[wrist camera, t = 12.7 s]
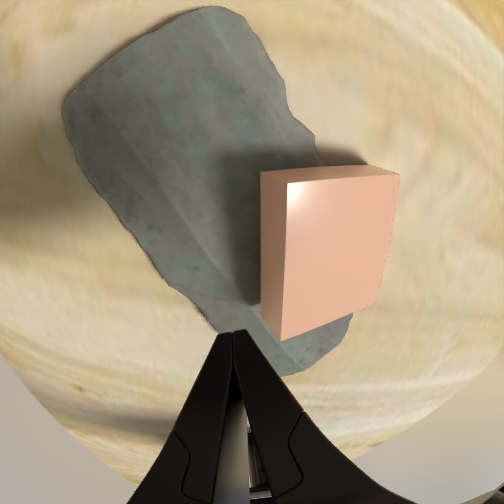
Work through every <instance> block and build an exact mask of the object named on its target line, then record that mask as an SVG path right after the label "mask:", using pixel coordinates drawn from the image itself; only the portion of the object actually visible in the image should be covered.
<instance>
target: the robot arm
mask: <svg viewBox="0 0 504 504" xmlns="http://www.w3.org/2000/svg"><path fill="white" fill-rule="evenodd" d="M247 417H248V420H249V424H250V427H251V431H252V434H247ZM173 429H174V430H171V432H170V434H169V436H168V438H167V440H166V442H165V444H164V446H163V448H162V450H161V452H160V454H159V456H158V457H157V459H156V460H155V462H154V464H153V465H152V467H151V468H150V470H149V472H148V473H147V475H146V476H145V478H144V479H143V480H142V482H141V483H140V485H139V486H138V488H137V489H136V491H135V492H134V494H133V496H132V497H131V498H130V500H129V501H128V502H127V504H417V503H415V502H413V501H410V500H408V499H406V498H404V497H402V496H400V495H397V494H395V493H393V492H391V491H389V490H387V489H386V488H384V487H383V486H381V485H379V484H378V483H377V482H375V481H374V480H372V479H371V478H370V477H369V476H368V475H366V474H365V473H364V472H363V471H362V470H361V469H359V468H358V467H357V466H356V465H355V464H354V463H353V462H352V461H351V460H349V459H348V458H347V457H346V456H345V455H344V454H343V453H342V452H341V451H340V450H338V449H337V448H336V447H335V446H334V445H333V444H332V443H331V442H330V441H329V440H328V438H327V437H326V436H325V435H324V434H323V433H322V432H321V431H320V430H319V428H318V427H317V426H316V425H315V423H314V422H313V421H312V420H311V418H310V417H309V416H308V414H307V413H306V412H305V411H304V409H303V408H302V407H301V405H300V404H299V403H298V401H297V400H296V399H295V397H294V396H293V394H292V393H291V392H290V390H289V389H288V388H287V386H286V385H285V383H284V382H283V381H282V379H281V378H280V377H279V375H278V374H277V372H276V371H275V369H274V368H273V367H272V365H271V364H270V362H269V361H268V360H267V358H266V357H265V355H264V354H263V352H262V351H261V350H260V348H259V347H258V345H257V344H256V342H255V341H254V339H253V338H252V336H251V335H250V334H249V332H248V331H247V330H246V329H241V330H236V331H233V333H232V332H224V333H219V334H218V335H217V337H216V339H215V341H214V343H213V345H212V347H211V349H210V351H209V354H208V356H207V358H206V360H205V362H204V364H203V366H202V368H201V370H200V372H199V374H198V376H197V379H196V381H195V383H194V385H193V387H192V389H191V391H190V393H189V395H188V397H187V399H186V401H185V403H184V406H183V408H182V410H181V412H180V414H179V416H178V418H177V420H176V422H175V424H174V426H173ZM249 476H250V484H251V488H249ZM268 496H272V497H268ZM261 497H266V498H261ZM252 498H259V499H252ZM462 504H504V483H503V484H502V485H500V486H499V487H498V488H497V489H495V490H493V491H490V492H488V493H486V494H483V495H481V496H479V497H477V498H474V499H472V500H469V501H467V502H464V503H462Z"/></svg>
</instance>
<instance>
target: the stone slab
mask: <svg viewBox="0 0 504 504" xmlns="http://www.w3.org/2000/svg"><path fill="white" fill-rule="evenodd" d="M62 117H63V119H64V122H65V125H66V132H67V138H68V139H69V140H70V142H71V143H72V144H73V146H74V148H75V154H76V161H77V163H78V164H79V165H80V166H81V168H82V169H83V171H84V174H85V175H86V177H87V179H88V181H89V182H90V183H91V184H92V185H93V186H95V188H96V190H97V192H98V194H99V195H100V196H101V197H103V198H104V199H105V200H106V201H107V202H108V203H109V204H110V206H111V207H112V209H113V210H114V212H115V213H116V215H117V216H118V218H119V219H120V221H121V222H122V224H123V226H124V228H125V229H127V230H128V231H130V232H132V233H133V235H134V236H135V237H136V239H137V241H138V242H139V244H140V246H141V248H142V249H143V250H144V251H145V252H146V253H147V255H148V256H149V257H150V259H151V260H152V261H153V263H154V265H155V267H156V269H157V270H158V272H159V273H160V275H161V276H162V277H163V278H164V279H165V281H166V282H167V284H168V285H169V286H170V287H172V288H174V289H176V290H178V291H179V292H180V293H182V294H184V295H185V296H187V297H188V298H189V299H190V300H191V301H192V302H193V303H194V304H195V305H196V306H197V307H198V308H199V309H200V310H201V311H202V312H203V314H204V315H205V318H206V320H207V321H208V322H209V323H211V324H212V326H213V327H214V329H215V330H216V331H217V332H218V333H224V332H232V333H233V331H236V330H241V329H246V330H247V331H248V332H249V334H250V335H251V336H252V338H253V339H254V341H255V342H256V344H257V345H258V347H259V348H260V350H261V351H262V352H263V354H264V355H265V357H266V358H267V360H268V361H269V362H270V364H271V365H272V367H273V368H274V369H275V371H276V372H277V374H278V375H279V377H282V376H288V375H293V374H295V373H297V372H300V371H304V370H306V369H307V368H309V367H311V366H312V365H313V364H315V363H316V362H317V361H318V360H320V359H321V358H322V357H323V356H324V355H326V354H327V353H328V352H330V351H331V350H332V349H333V348H335V347H336V346H337V345H339V344H340V343H341V341H342V339H343V337H344V336H345V334H346V332H347V330H348V326H349V322H350V320H351V318H352V316H353V313H350V314H348V315H346V316H344V317H341V318H339V319H336V320H334V321H332V322H329V323H327V324H324V325H322V326H320V327H317V328H315V329H312V330H310V331H307V332H304V333H302V334H299V335H297V336H294V337H291V338H289V339H286V340H283V341H281V342H280V340H279V339H278V338H277V336H276V335H275V334H274V333H273V331H272V330H271V329H270V327H269V326H268V325H267V323H266V322H265V321H264V319H263V318H262V317H261V190H260V172H263V171H274V170H284V169H296V168H310V167H325V166H326V165H325V163H324V162H323V161H322V159H321V158H320V156H319V153H318V151H317V149H316V146H315V135H314V134H313V133H312V132H311V131H310V130H309V129H308V128H306V127H305V126H304V125H303V124H302V123H301V122H300V121H298V120H297V119H296V118H294V117H293V115H292V114H291V112H290V110H289V107H288V104H287V100H286V89H285V83H284V80H283V79H282V77H281V76H280V75H279V73H278V72H277V70H276V68H275V66H274V64H273V62H272V61H271V60H270V58H269V56H268V54H267V52H266V50H265V48H264V46H263V44H262V42H261V40H260V38H259V37H258V36H257V35H256V34H255V33H254V32H253V31H252V30H251V28H250V27H249V25H248V23H247V21H246V19H245V17H243V16H241V15H240V14H237V13H235V12H233V11H231V10H229V9H227V8H225V7H221V6H207V7H203V8H200V9H197V10H194V11H190V12H187V13H184V14H183V15H181V16H179V17H178V18H176V19H174V20H173V21H171V22H169V23H167V24H165V25H164V26H162V27H161V28H160V29H158V30H156V31H154V32H151V33H148V34H145V35H143V36H141V37H140V38H138V39H137V40H135V41H134V42H132V43H131V44H129V45H128V46H127V47H125V48H124V49H122V50H121V51H120V52H118V53H117V54H115V55H114V56H113V57H111V58H110V59H109V60H107V61H106V62H105V63H104V64H103V65H102V66H101V67H100V68H99V69H97V70H96V71H94V72H93V73H92V74H90V75H89V76H88V77H87V78H86V79H85V80H84V81H83V82H82V83H81V84H80V85H79V86H77V87H76V88H75V89H74V90H73V91H72V92H71V93H70V94H69V95H68V96H67V98H66V100H65V102H64V104H63V106H62Z"/></svg>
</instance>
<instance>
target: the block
mask: <svg viewBox="0 0 504 504" xmlns="http://www.w3.org/2000/svg"><path fill="white" fill-rule="evenodd" d="M399 182H400V174H398V173H395V172H392V171H389V170H385V169H382V168H379V167H376V166H373V165H344V166H325V167H310V168H296V169H284V170H274V171H263V172H260V190H261V317H262V318H263V319H264V321H265V322H266V323H267V325H268V326H269V327H270V329H271V330H272V331H273V333H274V334H275V335H276V336H277V338H278V339H279V340H280V342H281V341H283V340H286V339H289V338H291V337H294V336H297V335H299V334H302V333H304V332H307V331H310V330H312V329H315V328H317V327H320V326H322V325H324V324H327V323H329V322H332V321H334V320H336V319H339V318H341V317H344V316H346V315H348V314H350V313H353V312H355V311H357V310H359V309H362V308H364V307H366V306H368V305H370V304H373V303H375V302H376V298H377V295H378V291H379V287H380V283H381V279H382V275H383V271H384V266H385V262H386V257H387V253H388V248H389V243H390V238H391V233H392V227H393V222H394V216H395V210H396V204H397V197H398V190H399Z"/></svg>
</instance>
